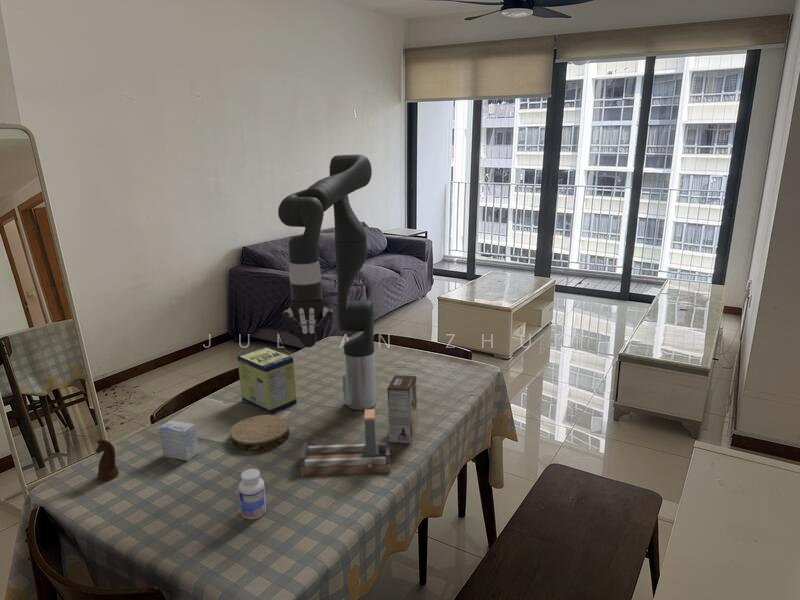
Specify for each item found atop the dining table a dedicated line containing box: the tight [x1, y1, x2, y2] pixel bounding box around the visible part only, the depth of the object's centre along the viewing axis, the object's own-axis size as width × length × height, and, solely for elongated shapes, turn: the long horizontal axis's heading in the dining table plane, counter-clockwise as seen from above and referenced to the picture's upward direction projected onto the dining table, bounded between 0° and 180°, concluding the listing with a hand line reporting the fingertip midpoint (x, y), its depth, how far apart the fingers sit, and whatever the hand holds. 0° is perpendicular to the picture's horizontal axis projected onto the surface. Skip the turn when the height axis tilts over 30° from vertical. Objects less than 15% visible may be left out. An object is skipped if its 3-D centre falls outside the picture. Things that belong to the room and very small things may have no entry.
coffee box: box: [387, 374, 418, 444], centre depth 152 cm, size 9×6×16 cm
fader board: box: [299, 439, 391, 476], centre depth 141 cm, size 22×10×4 cm, turn 92°
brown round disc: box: [229, 414, 290, 453], centre depth 155 cm, size 16×16×3 cm
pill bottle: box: [238, 468, 267, 520], centre depth 121 cm, size 5×5×10 cm
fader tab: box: [363, 408, 379, 457], centre depth 139 cm, size 4×5×12 cm
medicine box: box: [159, 420, 199, 462], centre depth 145 cm, size 8×4×9 cm, turn 71°
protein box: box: [237, 346, 298, 414], centre depth 174 cm, size 10×16×16 cm
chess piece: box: [95, 438, 120, 482], centre depth 136 cm, size 5×5×10 cm
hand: (310, 346), depth 140 cm, fingers closed
